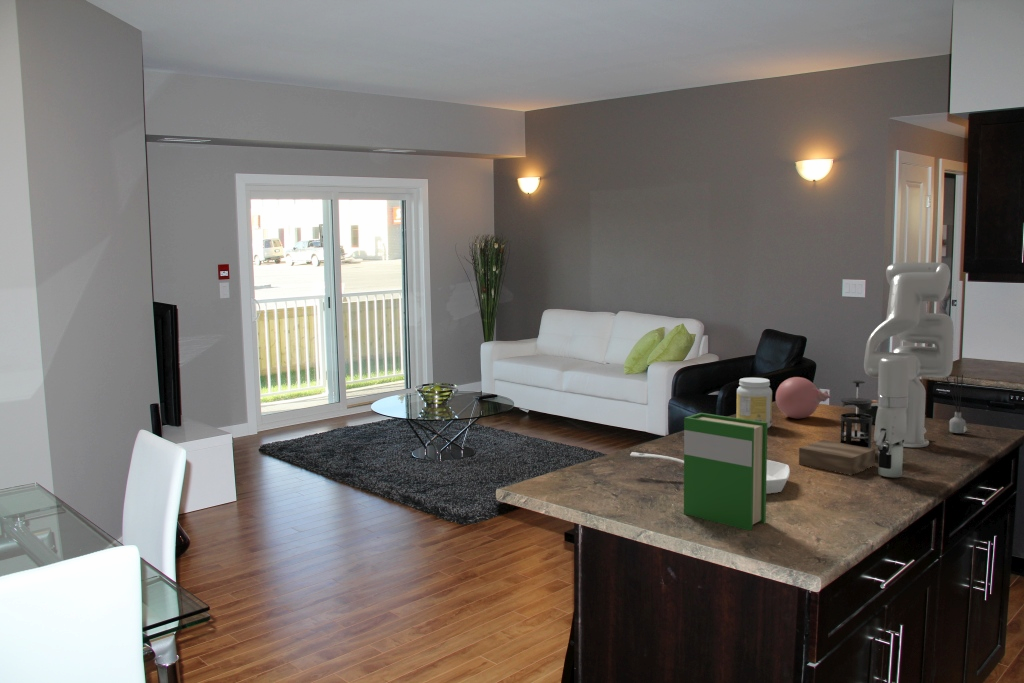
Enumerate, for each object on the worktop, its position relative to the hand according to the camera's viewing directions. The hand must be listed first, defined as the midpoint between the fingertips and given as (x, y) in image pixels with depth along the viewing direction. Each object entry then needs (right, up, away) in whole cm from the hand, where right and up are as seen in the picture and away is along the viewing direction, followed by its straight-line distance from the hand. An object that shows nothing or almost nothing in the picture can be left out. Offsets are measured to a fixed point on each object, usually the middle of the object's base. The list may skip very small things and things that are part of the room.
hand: (890, 464), depth 224 cm
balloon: (+3, +5, +75) cm, 75 cm away
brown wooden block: (-10, -2, +13) cm, 16 cm away
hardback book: (-54, -8, -30) cm, 63 cm away
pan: (-51, -5, +1) cm, 51 cm away
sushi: (+25, +5, +67) cm, 72 cm away
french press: (+1, -1, +25) cm, 25 cm away
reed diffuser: (+45, +3, +49) cm, 66 cm away
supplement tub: (-19, +4, +64) cm, 67 cm away
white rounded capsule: (0, -3, 0) cm, 3 cm away
